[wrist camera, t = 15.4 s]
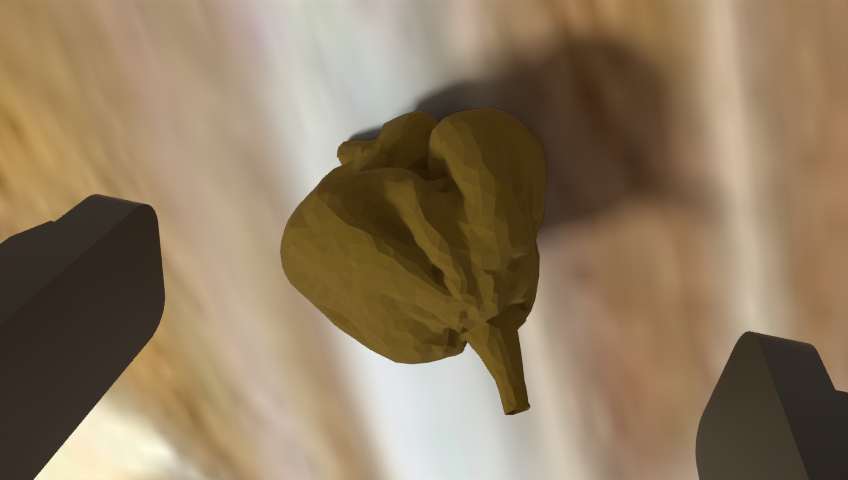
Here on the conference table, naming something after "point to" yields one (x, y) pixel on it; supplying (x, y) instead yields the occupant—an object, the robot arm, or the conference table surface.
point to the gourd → (428, 241)
